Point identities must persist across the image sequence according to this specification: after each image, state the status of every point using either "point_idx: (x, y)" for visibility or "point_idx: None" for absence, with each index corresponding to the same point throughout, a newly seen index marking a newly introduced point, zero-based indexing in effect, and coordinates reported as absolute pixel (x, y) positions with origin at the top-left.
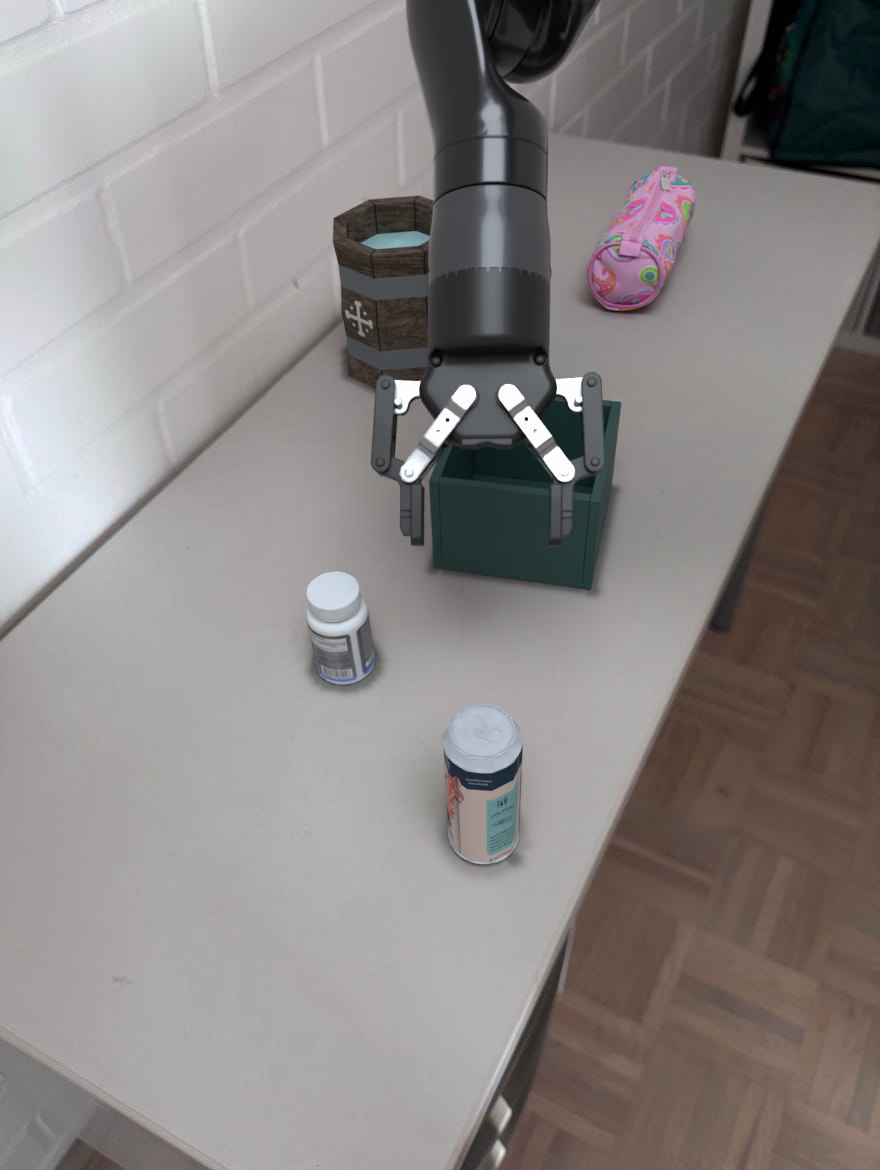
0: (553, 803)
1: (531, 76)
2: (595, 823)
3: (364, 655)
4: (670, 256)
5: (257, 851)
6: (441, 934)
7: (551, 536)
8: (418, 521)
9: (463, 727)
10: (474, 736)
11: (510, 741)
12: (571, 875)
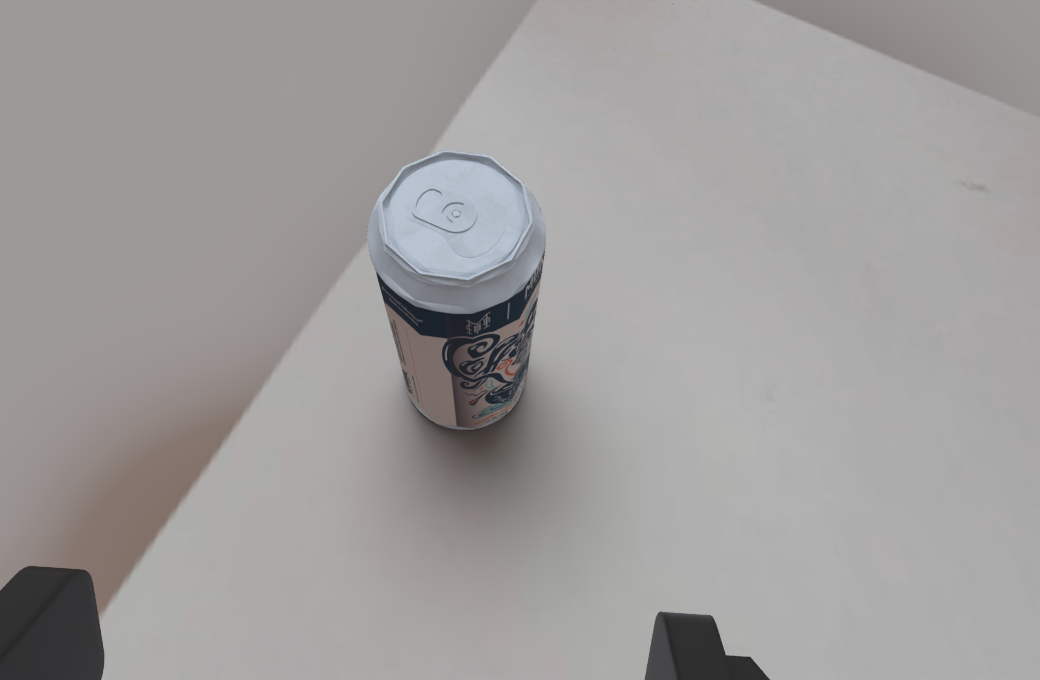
0: (334, 437)
1: None
2: (268, 395)
3: None
4: None
5: (843, 365)
6: None
7: (58, 577)
8: (693, 675)
9: (499, 225)
10: (475, 202)
11: (395, 179)
12: (330, 305)
